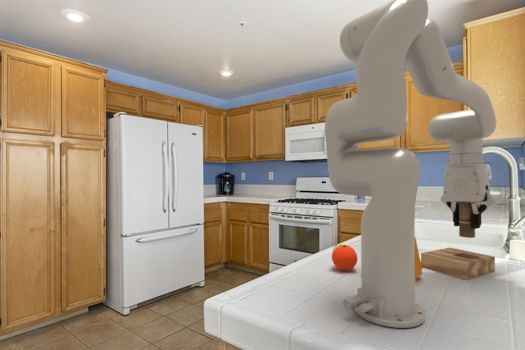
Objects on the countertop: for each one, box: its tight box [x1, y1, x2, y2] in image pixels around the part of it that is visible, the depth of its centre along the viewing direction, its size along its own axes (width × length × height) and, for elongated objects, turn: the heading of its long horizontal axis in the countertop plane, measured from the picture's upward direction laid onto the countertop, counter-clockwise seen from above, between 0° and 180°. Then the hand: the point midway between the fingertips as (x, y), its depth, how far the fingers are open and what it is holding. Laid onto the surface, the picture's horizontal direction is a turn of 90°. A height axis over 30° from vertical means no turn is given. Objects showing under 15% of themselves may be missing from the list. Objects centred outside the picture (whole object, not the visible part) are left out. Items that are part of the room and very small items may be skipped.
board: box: [420, 247, 496, 280], centre depth 83 cm, size 14×12×4 cm
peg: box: [458, 202, 476, 239], centre depth 82 cm, size 4×4×10 cm
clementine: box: [331, 243, 358, 271], centre depth 83 cm, size 8×7×7 cm
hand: (466, 226), depth 82 cm, fingers closed on peg, 3 cm apart
